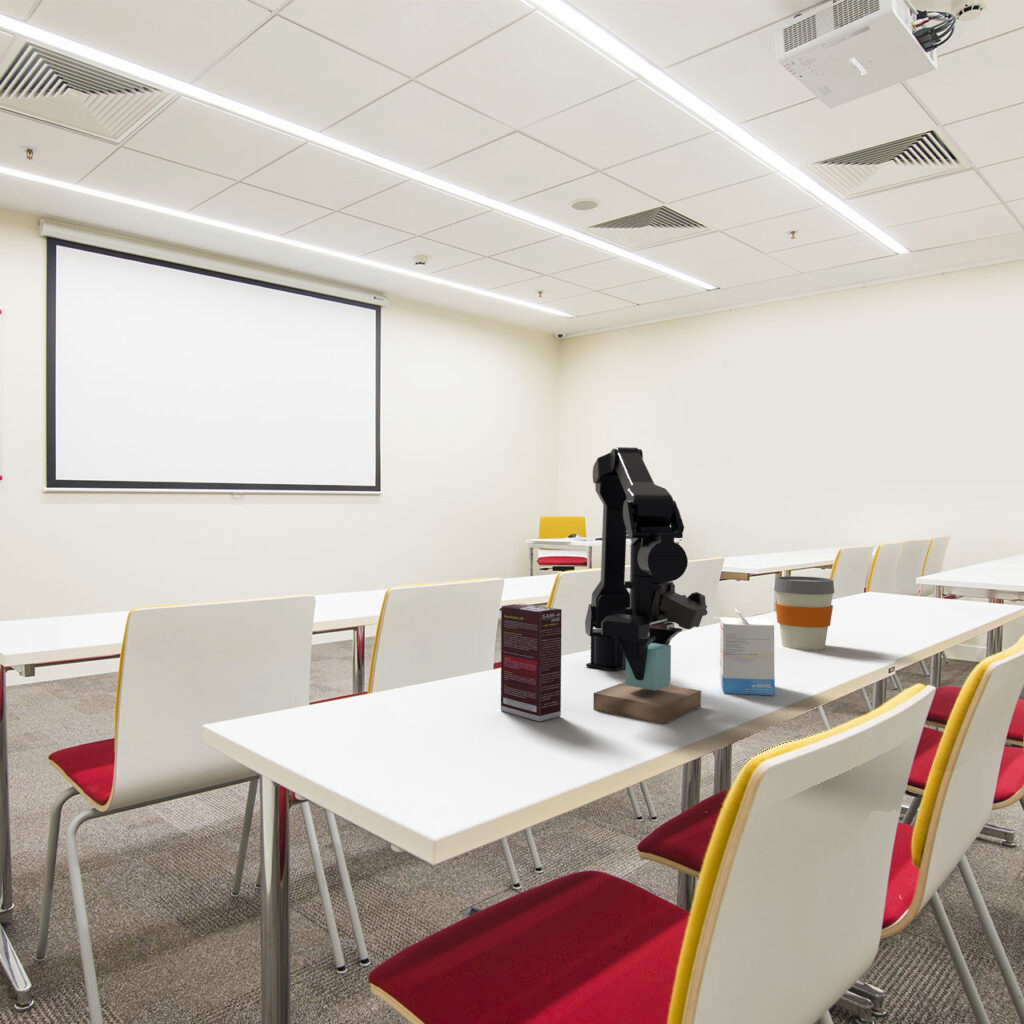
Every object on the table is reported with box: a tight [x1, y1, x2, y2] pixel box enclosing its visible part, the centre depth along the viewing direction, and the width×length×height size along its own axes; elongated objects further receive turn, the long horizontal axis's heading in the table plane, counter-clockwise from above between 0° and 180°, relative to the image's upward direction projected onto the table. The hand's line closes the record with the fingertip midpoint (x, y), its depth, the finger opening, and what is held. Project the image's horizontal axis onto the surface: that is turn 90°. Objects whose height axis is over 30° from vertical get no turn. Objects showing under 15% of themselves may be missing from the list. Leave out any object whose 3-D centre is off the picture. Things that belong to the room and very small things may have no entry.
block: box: [625, 643, 672, 690], centre depth 118 cm, size 5×5×6 cm
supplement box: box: [500, 603, 562, 722], centre depth 114 cm, size 9×5×16 cm, turn 43°
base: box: [592, 681, 702, 725], centre depth 118 cm, size 12×12×2 cm
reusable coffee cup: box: [773, 575, 835, 651], centre depth 171 cm, size 13×13×15 cm
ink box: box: [719, 607, 776, 696], centre depth 131 cm, size 9×8×13 cm
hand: (647, 676), depth 118 cm, fingers closed on block, 5 cm apart
